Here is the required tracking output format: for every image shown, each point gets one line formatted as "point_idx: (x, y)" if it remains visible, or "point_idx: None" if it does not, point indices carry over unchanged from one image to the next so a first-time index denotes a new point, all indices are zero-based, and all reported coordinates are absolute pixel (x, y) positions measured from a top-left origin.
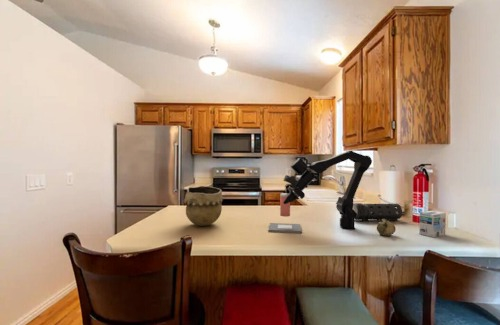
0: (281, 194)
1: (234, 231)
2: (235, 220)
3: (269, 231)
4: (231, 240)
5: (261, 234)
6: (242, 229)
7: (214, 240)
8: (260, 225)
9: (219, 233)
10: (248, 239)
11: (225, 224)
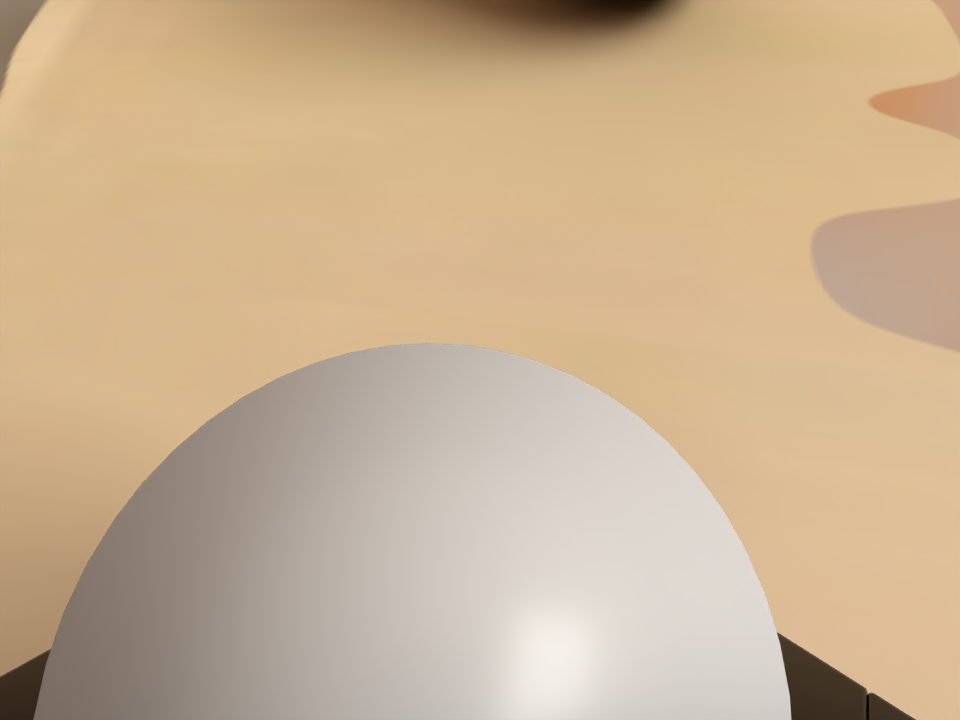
0: (311, 374)
1: (399, 140)
2: (848, 172)
3: None
4: (130, 109)
5: (236, 344)
6: (464, 201)
7: (174, 26)
8: (644, 391)
9: (354, 52)
10: (106, 217)
11: (657, 93)
